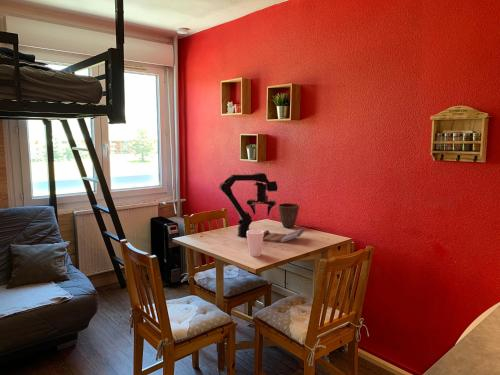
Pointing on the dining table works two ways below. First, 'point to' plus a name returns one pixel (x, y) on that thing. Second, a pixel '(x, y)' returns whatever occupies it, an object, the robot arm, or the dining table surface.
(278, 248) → the dining table surface
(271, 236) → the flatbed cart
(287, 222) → the plant pot
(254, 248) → the foam cup
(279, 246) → the dining table surface
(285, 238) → the tailgate
